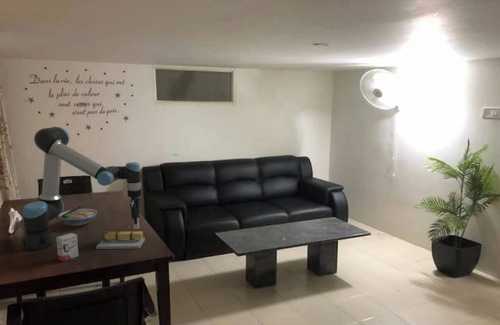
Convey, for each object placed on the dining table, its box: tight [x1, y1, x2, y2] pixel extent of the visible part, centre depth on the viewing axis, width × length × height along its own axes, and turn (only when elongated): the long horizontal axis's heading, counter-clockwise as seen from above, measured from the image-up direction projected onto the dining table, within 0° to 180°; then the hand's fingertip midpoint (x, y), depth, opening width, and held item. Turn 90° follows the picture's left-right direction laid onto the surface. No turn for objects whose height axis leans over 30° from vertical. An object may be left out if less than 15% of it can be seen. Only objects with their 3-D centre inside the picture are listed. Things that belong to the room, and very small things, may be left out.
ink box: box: [55, 232, 79, 262], centre depth 195 cm, size 9×5×12 cm, turn 146°
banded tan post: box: [101, 230, 144, 241], centre depth 216 cm, size 22×4×5 cm, turn 92°
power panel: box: [95, 236, 146, 250], centre depth 214 cm, size 23×13×2 cm, turn 92°
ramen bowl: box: [54, 206, 98, 227], centre depth 247 cm, size 25×23×8 cm
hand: (136, 228), depth 225 cm, fingers closed
